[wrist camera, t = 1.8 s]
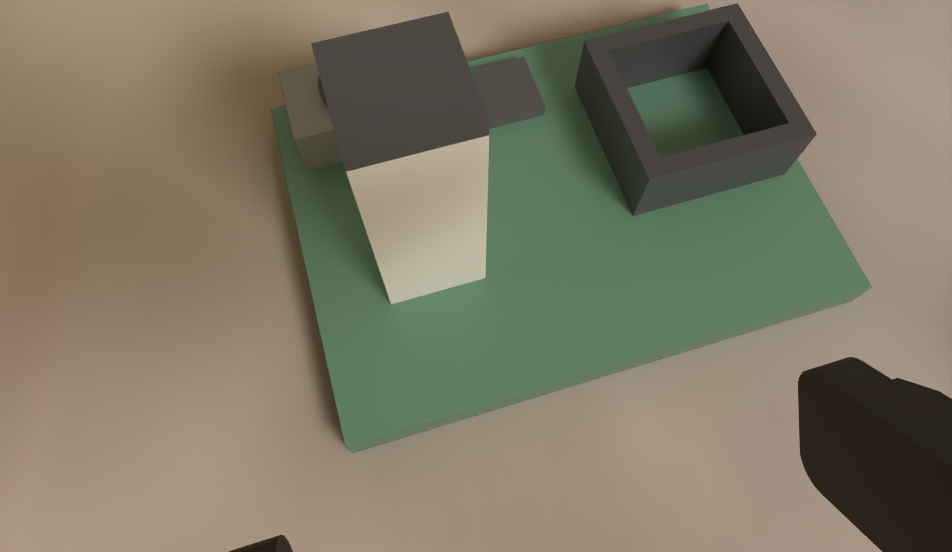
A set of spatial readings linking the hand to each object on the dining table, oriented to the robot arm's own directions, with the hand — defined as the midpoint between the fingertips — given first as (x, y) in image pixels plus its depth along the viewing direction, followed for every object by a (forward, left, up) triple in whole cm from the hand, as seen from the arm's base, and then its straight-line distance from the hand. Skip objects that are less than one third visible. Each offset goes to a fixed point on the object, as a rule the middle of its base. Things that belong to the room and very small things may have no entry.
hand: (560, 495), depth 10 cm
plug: (0, +12, -15) cm, 19 cm away
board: (+6, +13, -16) cm, 21 cm away
